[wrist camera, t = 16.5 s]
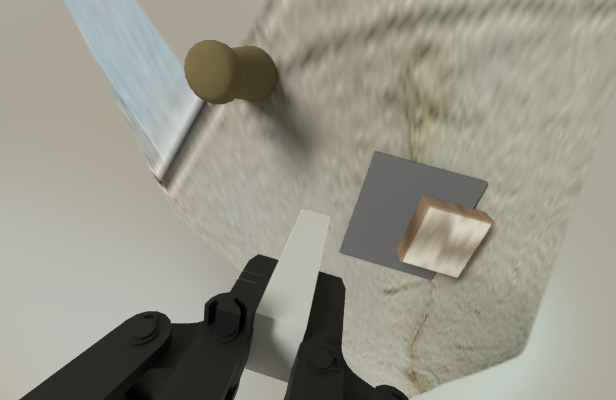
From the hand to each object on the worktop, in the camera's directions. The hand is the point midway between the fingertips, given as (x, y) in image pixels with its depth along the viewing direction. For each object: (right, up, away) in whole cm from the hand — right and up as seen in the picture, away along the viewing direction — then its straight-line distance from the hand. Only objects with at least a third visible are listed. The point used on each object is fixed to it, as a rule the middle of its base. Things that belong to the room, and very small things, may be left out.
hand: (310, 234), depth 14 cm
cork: (-7, +17, +18) cm, 26 cm away
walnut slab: (+13, -2, +21) cm, 25 cm away
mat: (+13, -1, +23) cm, 26 cm away
